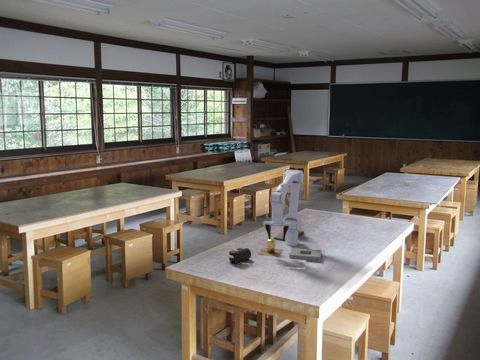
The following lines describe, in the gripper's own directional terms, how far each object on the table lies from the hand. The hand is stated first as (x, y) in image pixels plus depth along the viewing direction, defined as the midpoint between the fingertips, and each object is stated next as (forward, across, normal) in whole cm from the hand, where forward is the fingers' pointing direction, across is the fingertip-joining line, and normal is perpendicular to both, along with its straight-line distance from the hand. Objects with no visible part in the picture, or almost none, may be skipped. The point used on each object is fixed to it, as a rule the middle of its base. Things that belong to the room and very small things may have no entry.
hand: (276, 239), depth 250 cm
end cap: (+10, -17, -14) cm, 24 cm away
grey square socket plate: (+10, +15, +3) cm, 18 cm away
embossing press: (+10, +2, +40) cm, 41 cm away
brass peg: (+9, -4, +4) cm, 10 cm away
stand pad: (+10, -4, +4) cm, 11 cm away
